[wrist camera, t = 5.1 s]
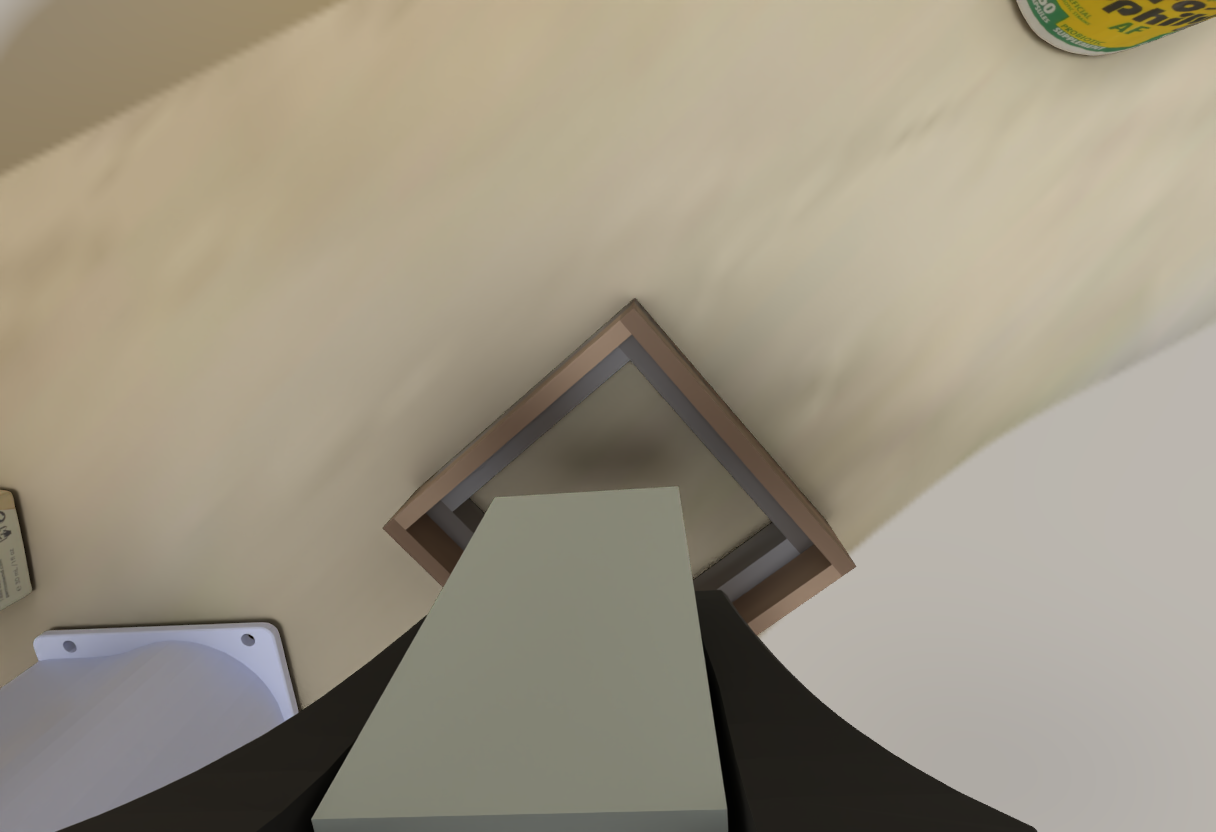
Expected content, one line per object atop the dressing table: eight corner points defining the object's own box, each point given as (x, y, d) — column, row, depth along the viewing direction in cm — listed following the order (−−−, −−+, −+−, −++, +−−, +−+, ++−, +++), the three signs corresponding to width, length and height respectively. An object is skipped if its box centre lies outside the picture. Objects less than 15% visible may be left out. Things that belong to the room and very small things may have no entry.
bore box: (606, 680, 24) (602, 742, 21) (416, 490, 22) (382, 528, 19) (827, 522, 22) (856, 566, 19) (635, 297, 20) (633, 307, 17)
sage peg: (517, 655, 15) (384, 1098, 7) (494, 497, 14) (310, 819, 6) (687, 648, 15) (740, 1101, 7) (678, 486, 14) (726, 809, 6)
